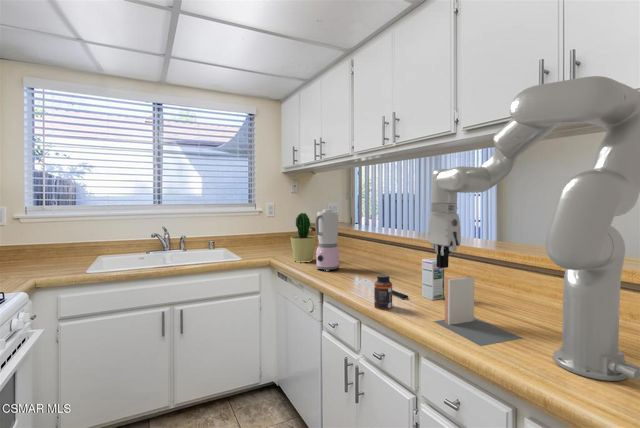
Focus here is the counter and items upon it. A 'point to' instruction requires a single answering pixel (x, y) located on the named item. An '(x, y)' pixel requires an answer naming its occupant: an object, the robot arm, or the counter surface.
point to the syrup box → (432, 279)
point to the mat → (480, 332)
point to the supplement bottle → (383, 293)
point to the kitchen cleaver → (370, 285)
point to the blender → (327, 240)
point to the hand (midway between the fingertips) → (442, 267)
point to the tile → (459, 300)
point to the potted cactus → (303, 240)
